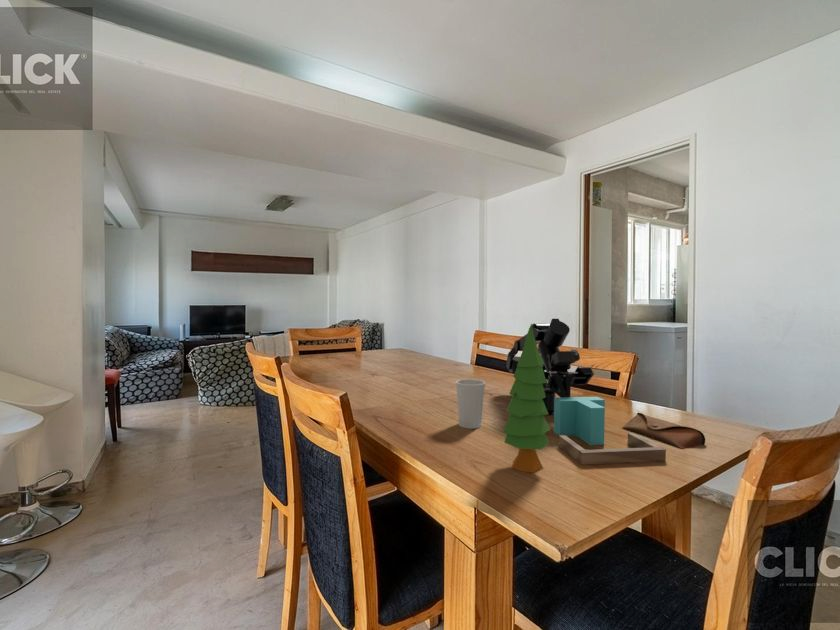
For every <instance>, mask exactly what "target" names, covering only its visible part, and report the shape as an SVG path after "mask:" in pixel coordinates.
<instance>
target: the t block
mask: <svg viewBox="0 0 840 630" xmlns="http://www.w3.org/2000/svg"><path fill="white" fill-rule="evenodd" d="M605 404H606V399H603V398H601V397H599V396H575V397H574V396H573V397H572V396H570V397H555V398H554V414H553V416H554V417H553V432H555V433H556V435H558V436H559V435H565V436H567V437H570V436H576V437H577V438H579V439H581V440H582V441H583V442H585V443H586V444H588V445H589V446H602V445H603V446H604V445H605V425H606V424H605V418H606V417H605V415H606V413H605V412H606V405H605Z"/></svg>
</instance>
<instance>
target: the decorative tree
mask: <svg viewBox="0 0 840 630" xmlns="http://www.w3.org/2000/svg"><path fill="white" fill-rule="evenodd" d="M532 324H533V323H531V324H530V325H529V328H528V331H527V333H526V334H527V336H526V340H525V344H524V348H523V351H521V354H520V356H519V357H520V359H519V362H518V364H517V369H516V371H515V372H514V373H513V378H514V379H515V380H514V382H513V384H512V387H511V388H510V390H509V395H510V396H512V397H511V399H510V402H509V404H508V405H507V408H506V412H507V413H509V414H510V415H509V417H508V418H507V421H506V424H505V425H504V428H503V431H502V434H506V436H505V439H504V444H508V445H509V446H512V447H514V448H517V449H518V453H517V455H516V456H515V458H514V459H513V461H512V467H511V468H512V469H515V470H517V471H520V472H526V473H536V472H538V471H540V470H542V469H544V467H543V465H542V463H541V460H540V458H539V456H538V454H537V452H536V451H537V450H542V449H544V448H545V447H547V446H549V445H550V442H549V440H548V436H547V432H548V431H551V428H550V426H549V424H548V422H547V420H546V418H545V416H546V415H549V414H548V411H547V409H546V407H545V404H544V402H543V398H545V397H546V396H545V392H544V388H543V384H542V383H546V379H545V375H544V372H543V368H542V365H543V364H544V362H543V360H542V357H541V354H540V353H539V351H538V344H537V345H536V341H535V338H534V334H533V329H532Z"/></svg>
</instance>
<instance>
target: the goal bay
mask: <svg viewBox="0 0 840 630" xmlns="http://www.w3.org/2000/svg"><path fill="white" fill-rule="evenodd" d="M627 444H628V445H630V446H632V447H629V448H627V447H625V448H600V449H585V448H584V447H582V446H580V445H579V444H578V443H576V442H575V441H574V440H572V439H571V438H569V436H565V435H558V446H559V447H560V448H561V449H562V450H563V451H564V452H566V453H567V454H569V456H571V457H572V458H573V459H575V460H576V461H577V462H578V463H579V464H581V465H583V466H584V465H598V464H599V465H601V464H602V465H604V464H605V465H606V464H623V463H624V464H626V463H625V462H630V463H649V462H651V461H653V462H666V459H667V457H666V453H667V450H666V449H665V447H662V446H661V445H660V446H659V445H658V444H656V443H654V442H653V441H651V440H649V439H646V438H645V437H642V435H641V436H640V434H639V435H638V433H635V432H627Z"/></svg>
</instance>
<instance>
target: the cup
mask: <svg viewBox="0 0 840 630" xmlns="http://www.w3.org/2000/svg"><path fill="white" fill-rule="evenodd" d="M455 383H456V397H457V409H458V410H457V413H458V426H459V427H460V428H463V429H470V430H471V429H472V430H473V429H479V428H481V427H482V423H483V420H482V418H483V409H484V408H483V406H484V397H485V396H484V395H485V387H486V381H484V380H480V379H475V378H473V379H471V378H463V379H459V380H456V381H455Z"/></svg>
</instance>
